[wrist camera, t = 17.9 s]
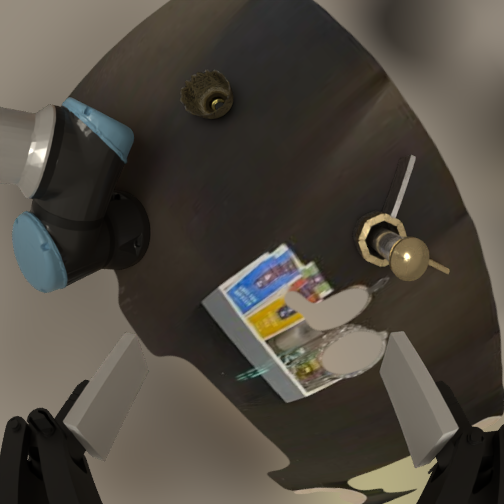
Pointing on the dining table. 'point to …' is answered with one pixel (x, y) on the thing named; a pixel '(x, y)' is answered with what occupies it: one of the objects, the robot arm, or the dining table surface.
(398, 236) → the hinge pin
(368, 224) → the ring holder
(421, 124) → the dining table surface
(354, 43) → the dining table surface
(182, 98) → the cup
